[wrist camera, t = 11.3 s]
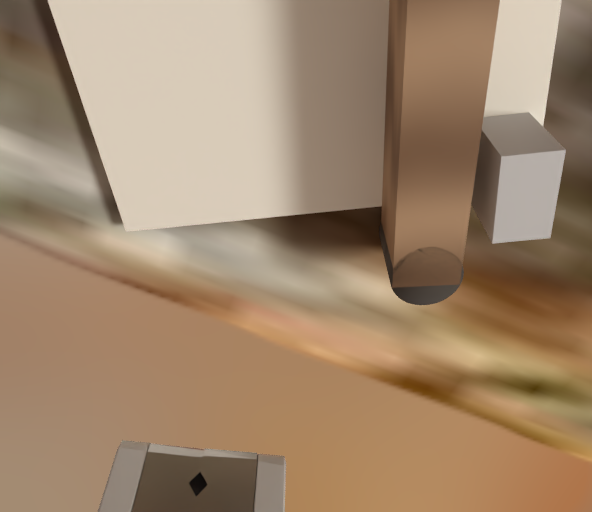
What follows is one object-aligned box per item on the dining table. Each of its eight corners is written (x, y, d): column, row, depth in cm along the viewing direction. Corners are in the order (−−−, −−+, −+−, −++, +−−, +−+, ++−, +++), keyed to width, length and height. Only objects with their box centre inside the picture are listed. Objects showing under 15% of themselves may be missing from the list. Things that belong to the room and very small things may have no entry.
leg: (388, -54, 21) (406, -39, 17) (475, -59, 21) (509, -46, 17) (378, 256, 29) (388, 306, 25) (440, 253, 29) (459, 303, 25)
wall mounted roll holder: (-53, -329, 17) (-261, -449, 11) (614, -439, 16) (832, -650, 9) (130, 223, 28) (82, 325, 22) (527, 183, 27) (599, 279, 21)
